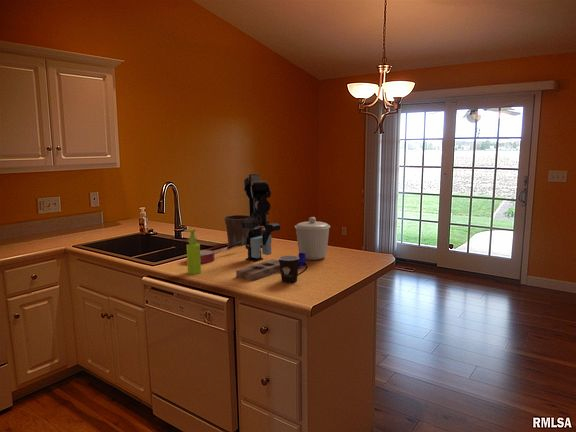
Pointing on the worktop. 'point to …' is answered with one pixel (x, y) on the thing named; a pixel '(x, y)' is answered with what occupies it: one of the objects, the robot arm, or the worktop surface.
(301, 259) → the cable clip
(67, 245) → the worktop surface
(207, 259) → the frying pan
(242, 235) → the plant pot
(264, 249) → the grey channel block
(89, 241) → the worktop surface
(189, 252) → the soap dispenser
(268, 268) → the rail
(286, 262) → the coffee mug
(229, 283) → the worktop surface
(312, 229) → the canister
